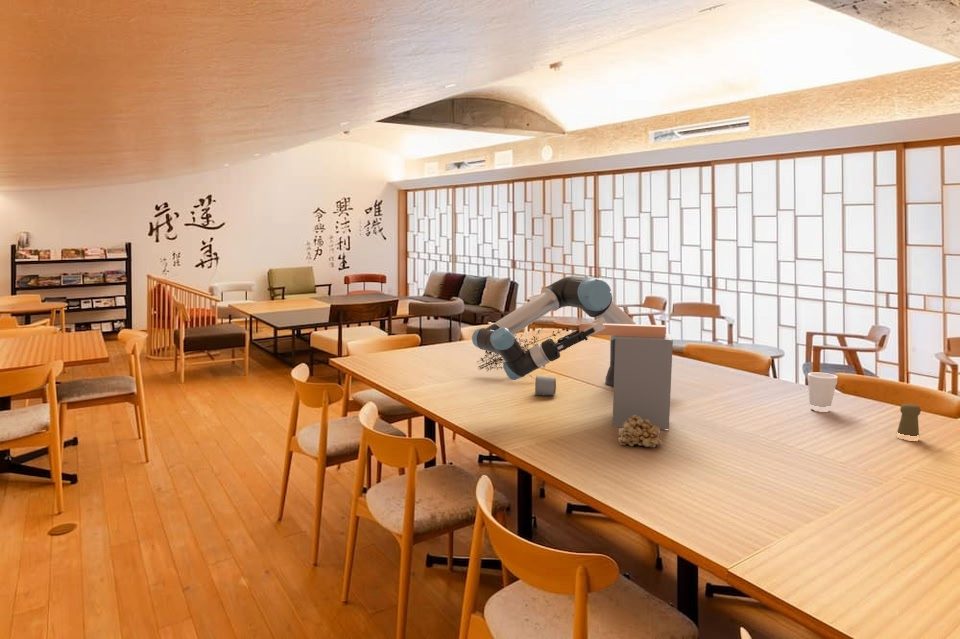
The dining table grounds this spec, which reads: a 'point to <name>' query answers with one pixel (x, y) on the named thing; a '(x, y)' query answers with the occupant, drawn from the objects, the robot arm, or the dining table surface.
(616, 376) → the stand
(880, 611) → the dining table surface
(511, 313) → the robot arm
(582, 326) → the rail
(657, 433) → the mineral formation
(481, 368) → the dried plant
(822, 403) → the foam cup
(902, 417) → the olive pepper mill
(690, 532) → the dining table surface
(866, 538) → the dining table surface
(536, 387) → the ceramic mug
